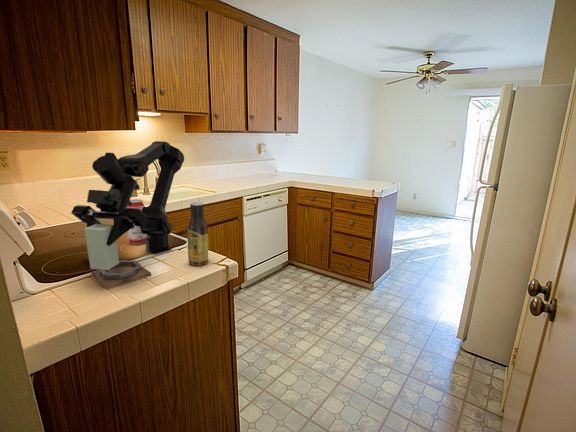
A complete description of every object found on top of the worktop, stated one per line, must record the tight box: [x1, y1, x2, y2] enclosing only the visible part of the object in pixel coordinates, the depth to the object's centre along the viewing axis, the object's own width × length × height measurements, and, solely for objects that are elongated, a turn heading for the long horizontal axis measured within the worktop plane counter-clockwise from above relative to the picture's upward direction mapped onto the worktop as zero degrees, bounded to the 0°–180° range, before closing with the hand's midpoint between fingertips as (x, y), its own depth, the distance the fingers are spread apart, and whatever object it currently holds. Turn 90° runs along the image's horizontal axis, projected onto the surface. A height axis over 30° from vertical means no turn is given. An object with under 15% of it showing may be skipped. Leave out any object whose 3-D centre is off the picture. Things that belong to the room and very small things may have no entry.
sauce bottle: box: [186, 201, 209, 267], centre depth 98 cm, size 6×6×20 cm
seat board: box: [91, 265, 152, 290], centre depth 91 cm, size 12×12×1 cm
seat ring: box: [98, 259, 142, 280], centre depth 90 cm, size 10×10×2 cm
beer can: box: [127, 199, 147, 246], centre depth 115 cm, size 6×6×16 cm
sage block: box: [84, 223, 120, 270], centre depth 82 cm, size 4×5×11 cm
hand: (98, 244), depth 81 cm, fingers closed on sage block, 5 cm apart
